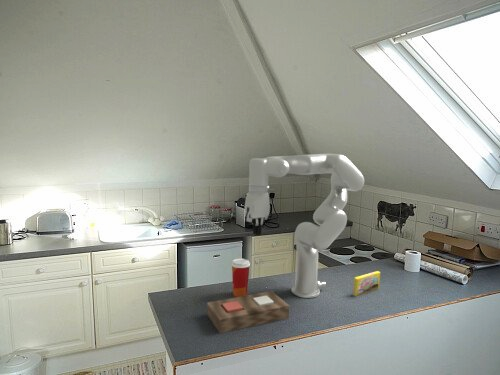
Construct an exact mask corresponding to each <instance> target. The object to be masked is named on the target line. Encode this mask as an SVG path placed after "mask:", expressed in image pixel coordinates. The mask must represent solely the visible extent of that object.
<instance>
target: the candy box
mask: <svg viewBox="0 0 500 375" xmlns="http://www.w3.org/2000/svg"><path fill="white" fill-rule="evenodd" d="M381 274H382V273H381V272H380V271H379V270H376V271H373V272H369V273H366V274H362V275H360V276H359V275H358V276H355V277H354V278H353V279H354V280H353V287H352V289H353V290H352V296H354V297H358V296H360V295H363V294H367V293H370V292H372V291H376V290H378V289H380V280H381Z"/></svg>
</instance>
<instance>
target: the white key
mask: <svg viewBox="0 0 500 375" xmlns="http://www.w3.org/2000/svg"><path fill="white" fill-rule="evenodd" d="M253 301H254V302H255V303H256V304H257V305H258V306H259V307H260V306H265V305H270V304H274V302H273V301H272V300H271V299H270V298H269V297H268V296H261V297H256V298H253Z"/></svg>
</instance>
